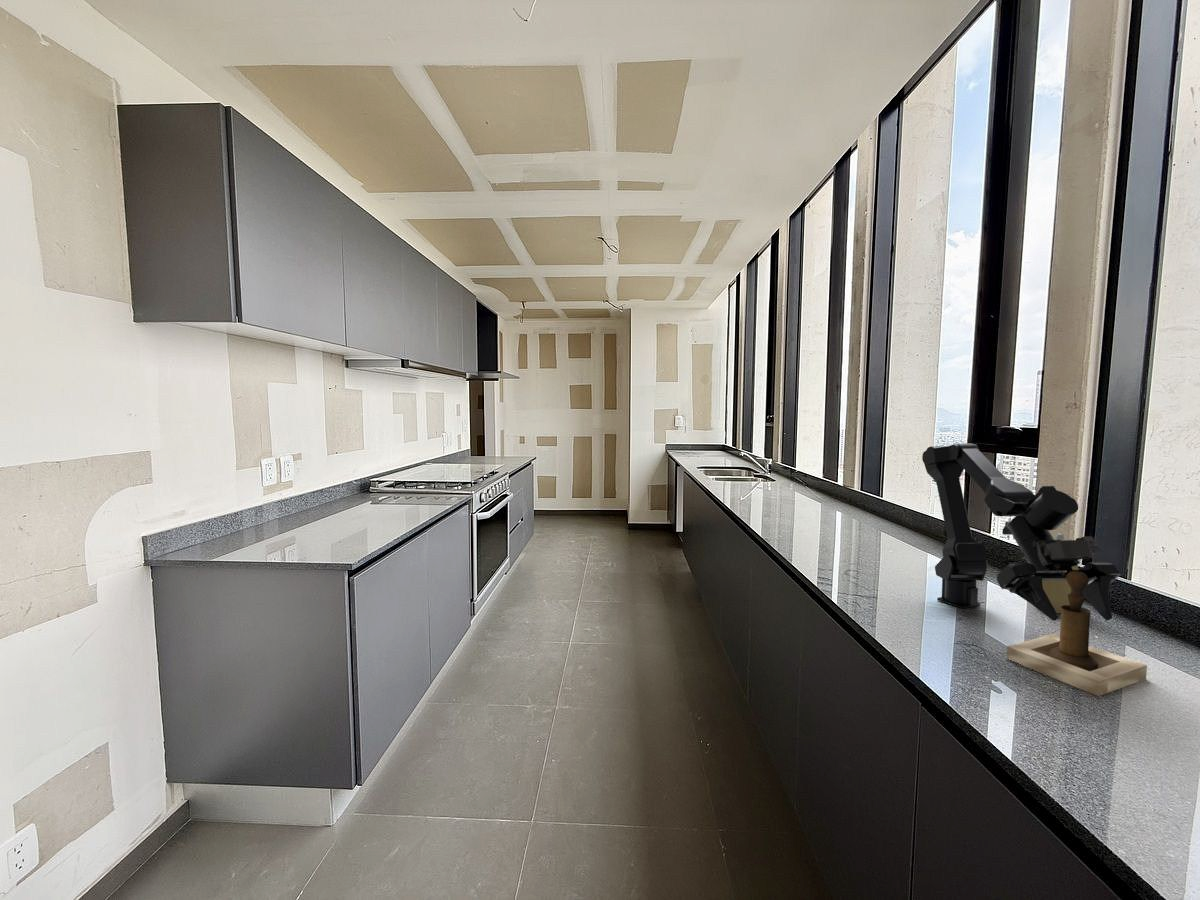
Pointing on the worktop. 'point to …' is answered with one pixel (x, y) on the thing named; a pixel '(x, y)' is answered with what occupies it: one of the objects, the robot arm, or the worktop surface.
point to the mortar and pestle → (1075, 627)
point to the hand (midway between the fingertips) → (1082, 619)
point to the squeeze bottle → (1058, 588)
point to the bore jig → (1098, 682)
